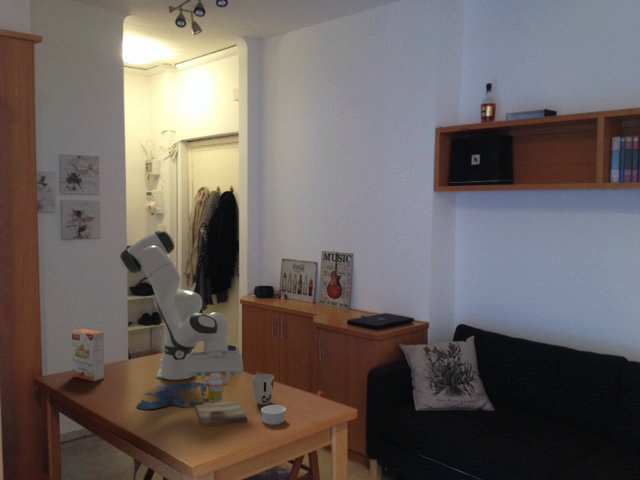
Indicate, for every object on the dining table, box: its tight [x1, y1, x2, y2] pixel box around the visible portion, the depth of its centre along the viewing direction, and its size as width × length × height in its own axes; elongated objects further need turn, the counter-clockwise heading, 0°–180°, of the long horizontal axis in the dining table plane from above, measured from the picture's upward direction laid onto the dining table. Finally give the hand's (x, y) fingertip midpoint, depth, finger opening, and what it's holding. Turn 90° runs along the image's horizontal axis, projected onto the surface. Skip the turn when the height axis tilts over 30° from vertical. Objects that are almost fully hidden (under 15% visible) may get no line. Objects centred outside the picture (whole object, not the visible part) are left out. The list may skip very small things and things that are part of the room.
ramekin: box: [260, 404, 287, 426], centre depth 207 cm, size 9×9×4 cm
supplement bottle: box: [207, 373, 224, 403], centre depth 213 cm, size 5×5×10 cm
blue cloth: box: [136, 381, 215, 410], centre depth 234 cm, size 27×29×1 cm
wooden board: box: [194, 400, 248, 427], centre depth 212 cm, size 18×16×2 cm
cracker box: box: [71, 328, 105, 382], centre depth 256 cm, size 14×6×21 cm, turn 60°
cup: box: [252, 373, 275, 405], centre depth 226 cm, size 8×8×10 cm
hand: (215, 385), depth 212 cm, fingers closed on supplement bottle, 5 cm apart
